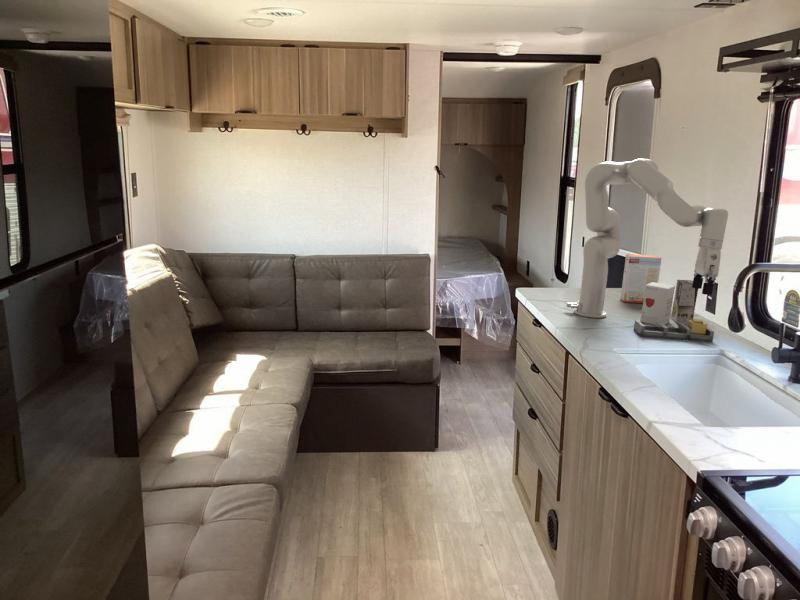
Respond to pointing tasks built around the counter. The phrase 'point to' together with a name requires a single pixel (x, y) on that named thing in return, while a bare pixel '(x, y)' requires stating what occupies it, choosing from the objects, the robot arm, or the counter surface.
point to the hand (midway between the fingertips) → (701, 291)
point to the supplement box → (657, 303)
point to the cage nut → (697, 326)
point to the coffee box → (684, 301)
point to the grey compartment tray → (671, 332)
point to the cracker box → (639, 276)
